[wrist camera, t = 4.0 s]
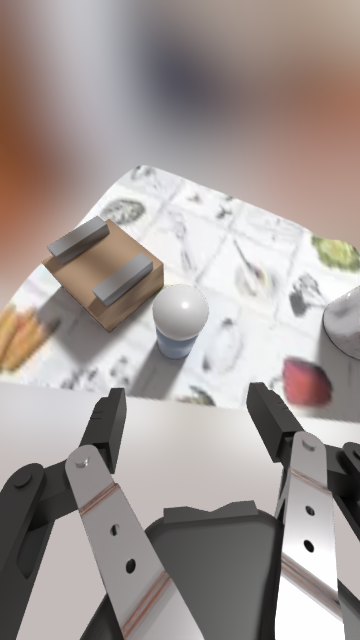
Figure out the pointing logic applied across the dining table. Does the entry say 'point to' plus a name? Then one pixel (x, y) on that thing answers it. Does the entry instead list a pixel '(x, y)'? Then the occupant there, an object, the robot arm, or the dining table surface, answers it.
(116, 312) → the display plinth
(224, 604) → the robot arm
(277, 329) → the dining table surface
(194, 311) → the ball-topped blue cylinder
